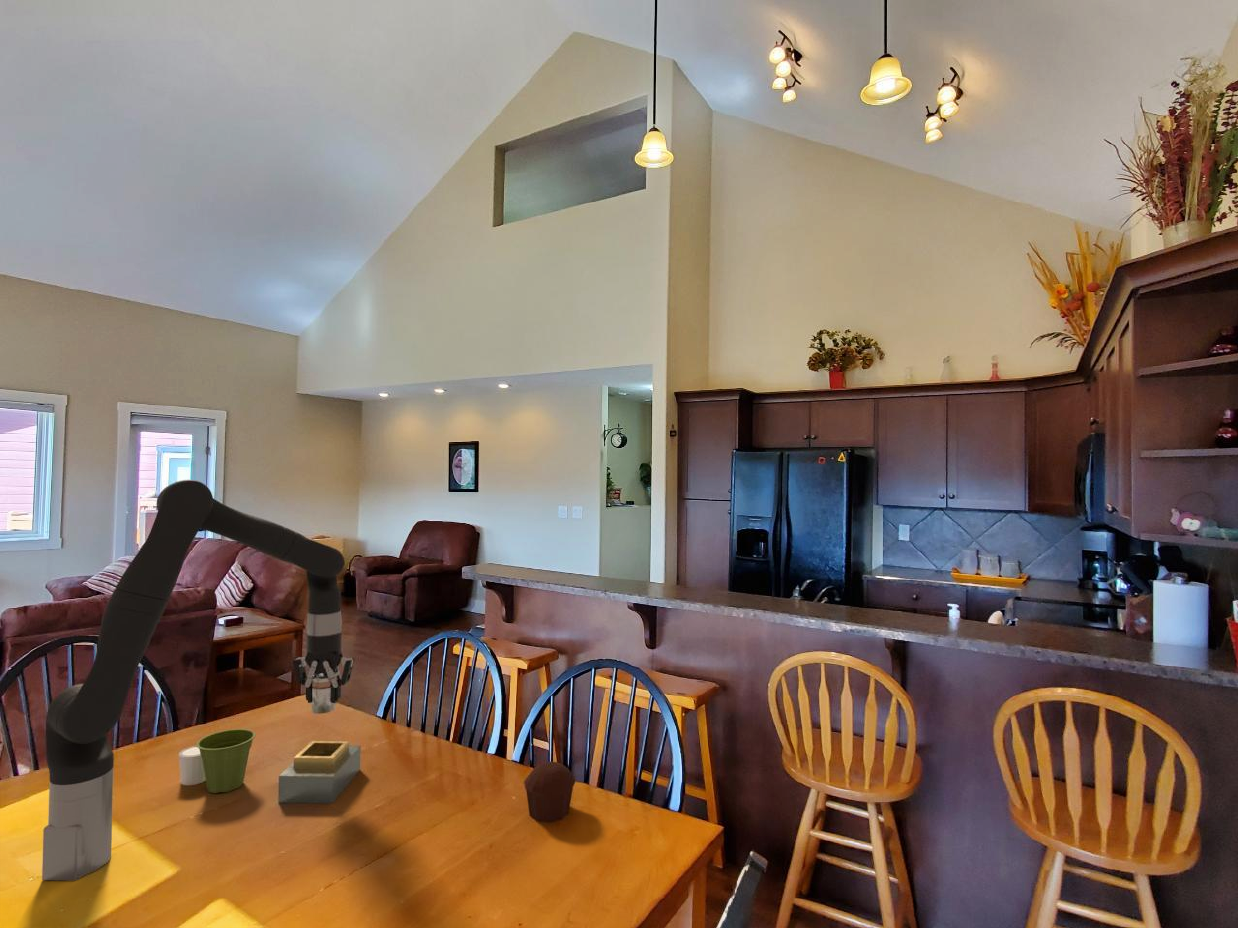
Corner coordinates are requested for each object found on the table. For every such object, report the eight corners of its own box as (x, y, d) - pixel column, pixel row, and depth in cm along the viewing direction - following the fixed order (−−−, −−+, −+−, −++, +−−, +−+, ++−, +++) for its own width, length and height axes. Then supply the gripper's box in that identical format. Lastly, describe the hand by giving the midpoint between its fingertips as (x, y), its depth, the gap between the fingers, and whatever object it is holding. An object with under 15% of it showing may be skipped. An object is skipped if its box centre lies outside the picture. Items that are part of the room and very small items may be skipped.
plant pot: (265, 775, 154) (266, 729, 154) (231, 801, 142) (232, 750, 143) (220, 772, 155) (221, 726, 156) (182, 797, 144) (183, 747, 144)
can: (329, 713, 148) (329, 675, 148) (307, 713, 148) (307, 675, 148) (338, 705, 153) (339, 668, 153) (317, 705, 153) (317, 668, 153)
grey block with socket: (331, 803, 142) (332, 765, 142) (278, 802, 142) (279, 764, 142) (360, 768, 159) (361, 734, 159) (312, 767, 159) (313, 733, 159)
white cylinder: (199, 787, 148) (200, 757, 148) (170, 786, 148) (171, 756, 149) (218, 773, 155) (219, 744, 155) (191, 772, 155) (191, 743, 155)
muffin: (565, 829, 134) (566, 781, 134) (516, 822, 136) (516, 775, 136) (580, 800, 146) (581, 756, 146) (534, 794, 148) (535, 751, 148)
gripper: (285, 634, 147) (284, 707, 147) (348, 634, 147) (347, 708, 147) (301, 626, 154) (300, 695, 154) (360, 626, 154) (359, 696, 154)
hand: (323, 701), depth 150 cm, fingers closed on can, 5 cm apart
